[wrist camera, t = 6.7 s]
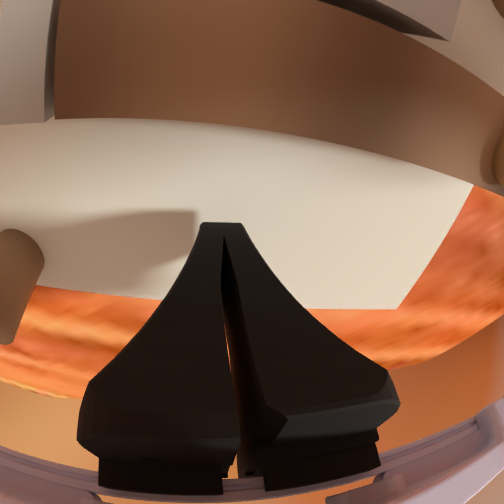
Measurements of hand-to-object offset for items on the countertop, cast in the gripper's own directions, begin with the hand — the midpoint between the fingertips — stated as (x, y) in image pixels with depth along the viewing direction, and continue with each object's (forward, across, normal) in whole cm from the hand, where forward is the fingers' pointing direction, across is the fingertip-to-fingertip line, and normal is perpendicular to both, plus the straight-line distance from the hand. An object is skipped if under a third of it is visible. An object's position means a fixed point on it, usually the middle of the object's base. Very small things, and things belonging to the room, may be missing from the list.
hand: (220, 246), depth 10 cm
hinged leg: (+1, -3, -6) cm, 7 cm away
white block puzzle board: (+3, -1, -5) cm, 6 cm away
